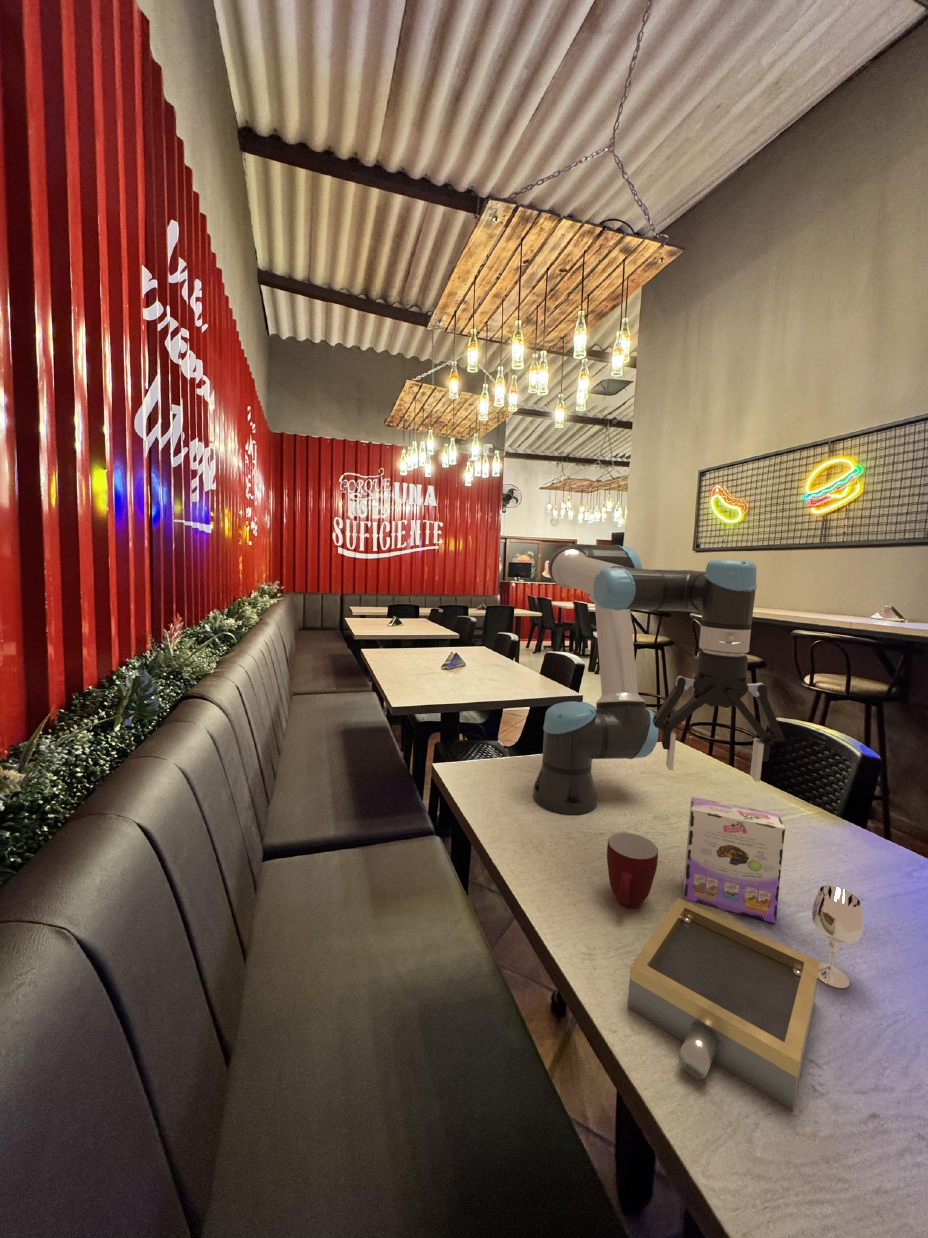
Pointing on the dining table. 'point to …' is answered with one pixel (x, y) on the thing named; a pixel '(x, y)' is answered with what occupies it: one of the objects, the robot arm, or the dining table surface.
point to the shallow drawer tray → (727, 998)
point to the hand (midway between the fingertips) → (711, 772)
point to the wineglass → (836, 927)
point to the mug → (631, 867)
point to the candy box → (734, 858)
